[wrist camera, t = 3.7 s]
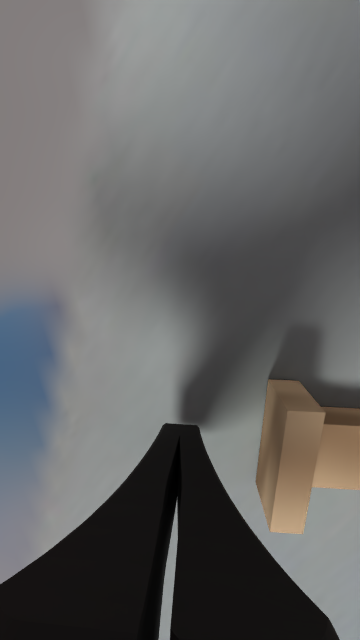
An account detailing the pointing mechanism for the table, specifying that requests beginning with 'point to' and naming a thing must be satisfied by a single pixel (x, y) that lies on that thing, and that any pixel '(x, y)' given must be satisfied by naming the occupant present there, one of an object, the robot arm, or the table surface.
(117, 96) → the table surface
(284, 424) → the oak tray
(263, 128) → the table surface
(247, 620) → the robot arm
